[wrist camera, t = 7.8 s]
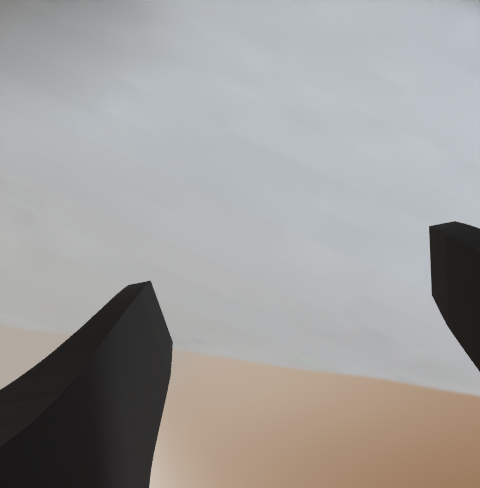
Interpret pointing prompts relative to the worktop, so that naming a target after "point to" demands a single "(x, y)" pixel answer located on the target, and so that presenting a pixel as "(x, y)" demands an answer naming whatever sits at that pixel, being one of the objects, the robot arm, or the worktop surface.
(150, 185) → the worktop surface
